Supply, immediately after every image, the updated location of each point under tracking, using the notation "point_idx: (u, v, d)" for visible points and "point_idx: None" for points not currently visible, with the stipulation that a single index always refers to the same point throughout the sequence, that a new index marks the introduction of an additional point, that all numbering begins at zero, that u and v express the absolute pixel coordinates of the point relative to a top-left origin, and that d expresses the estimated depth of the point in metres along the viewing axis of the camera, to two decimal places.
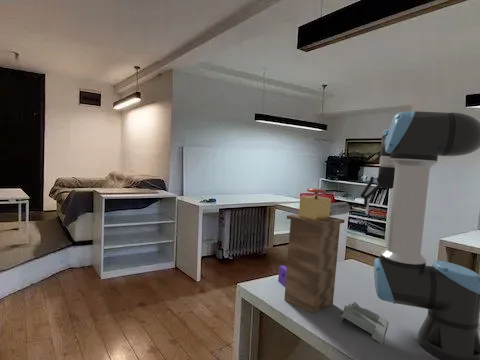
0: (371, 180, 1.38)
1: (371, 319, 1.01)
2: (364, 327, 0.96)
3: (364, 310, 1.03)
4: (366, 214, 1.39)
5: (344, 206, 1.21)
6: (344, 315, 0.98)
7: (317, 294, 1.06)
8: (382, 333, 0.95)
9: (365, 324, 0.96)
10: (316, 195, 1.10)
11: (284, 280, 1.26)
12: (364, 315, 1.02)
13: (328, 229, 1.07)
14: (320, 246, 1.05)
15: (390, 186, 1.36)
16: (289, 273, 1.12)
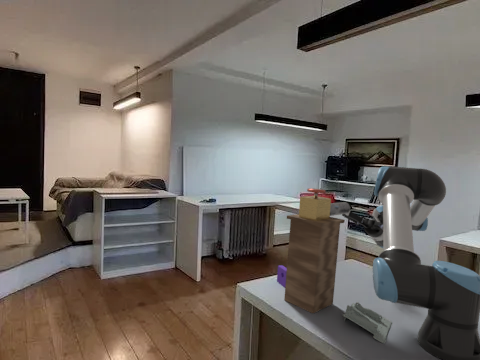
0: None
1: (374, 319, 1.01)
2: (366, 327, 0.96)
3: (367, 310, 1.03)
4: None
5: (344, 206, 1.21)
6: (346, 315, 0.99)
7: (317, 294, 1.06)
8: (384, 333, 0.95)
9: (368, 324, 0.96)
10: (316, 195, 1.10)
11: (283, 280, 1.26)
12: (367, 315, 1.02)
13: (328, 229, 1.07)
14: (320, 246, 1.05)
15: None
16: (289, 273, 1.12)
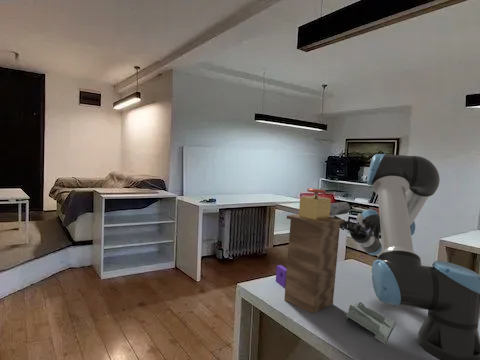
0: None
1: (377, 320, 1.01)
2: (368, 327, 0.96)
3: (370, 310, 1.03)
4: None
5: (344, 206, 1.21)
6: (348, 314, 0.99)
7: (317, 294, 1.06)
8: (386, 334, 0.95)
9: (369, 324, 0.96)
10: (316, 195, 1.10)
11: (282, 280, 1.26)
12: (370, 315, 1.02)
13: (328, 229, 1.07)
14: (320, 246, 1.05)
15: None
16: (289, 273, 1.12)
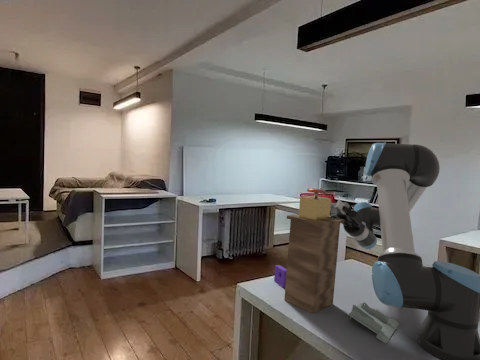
0: None
1: (380, 320, 1.01)
2: (370, 327, 0.96)
3: (373, 311, 1.03)
4: None
5: None
6: (351, 314, 1.00)
7: (317, 294, 1.06)
8: (389, 334, 0.95)
9: (372, 324, 0.96)
10: (316, 195, 1.10)
11: (281, 280, 1.26)
12: (373, 316, 1.02)
13: (328, 229, 1.07)
14: (320, 246, 1.05)
15: None
16: (289, 273, 1.12)
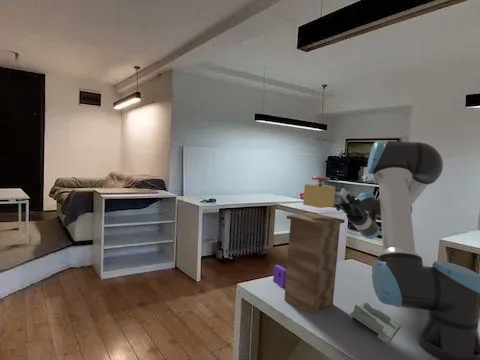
0: None
1: (382, 320, 1.01)
2: (371, 327, 0.96)
3: (375, 311, 1.03)
4: None
5: None
6: (352, 314, 1.00)
7: (317, 294, 1.06)
8: (390, 334, 0.95)
9: (373, 324, 0.96)
10: (320, 183, 1.11)
11: (280, 280, 1.26)
12: (375, 316, 1.02)
13: (328, 229, 1.07)
14: (320, 246, 1.05)
15: None
16: (289, 273, 1.12)
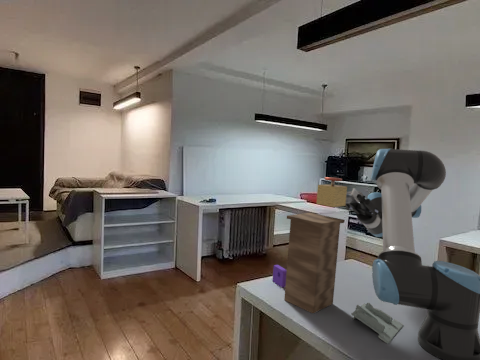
0: None
1: (384, 321, 1.01)
2: (372, 327, 0.96)
3: (377, 311, 1.03)
4: None
5: None
6: (354, 313, 1.00)
7: (317, 294, 1.06)
8: (391, 335, 0.95)
9: (374, 324, 0.96)
10: (333, 183, 1.17)
11: (280, 279, 1.26)
12: (377, 316, 1.02)
13: (328, 229, 1.07)
14: (320, 246, 1.05)
15: None
16: (289, 273, 1.12)
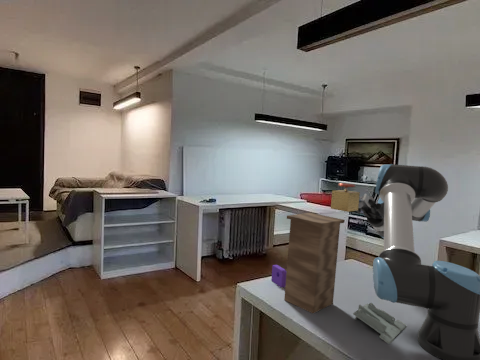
0: None
1: (386, 321, 1.01)
2: (374, 327, 0.96)
3: (380, 311, 1.03)
4: None
5: None
6: (355, 313, 1.00)
7: (317, 294, 1.06)
8: (393, 335, 0.95)
9: (376, 324, 0.96)
10: (346, 189, 1.23)
11: (279, 279, 1.26)
12: (379, 316, 1.02)
13: (328, 229, 1.07)
14: (320, 246, 1.05)
15: None
16: (289, 273, 1.12)
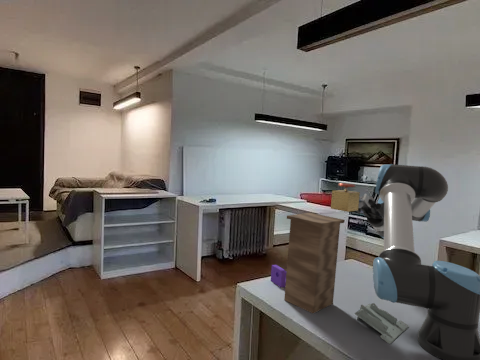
0: None
1: (388, 321, 1.01)
2: (375, 327, 0.96)
3: (382, 312, 1.03)
4: None
5: None
6: (357, 313, 1.00)
7: (317, 294, 1.06)
8: (394, 335, 0.94)
9: (377, 324, 0.96)
10: (346, 189, 1.23)
11: (278, 279, 1.26)
12: (381, 317, 1.02)
13: (328, 229, 1.07)
14: (320, 246, 1.05)
15: None
16: (289, 273, 1.12)
